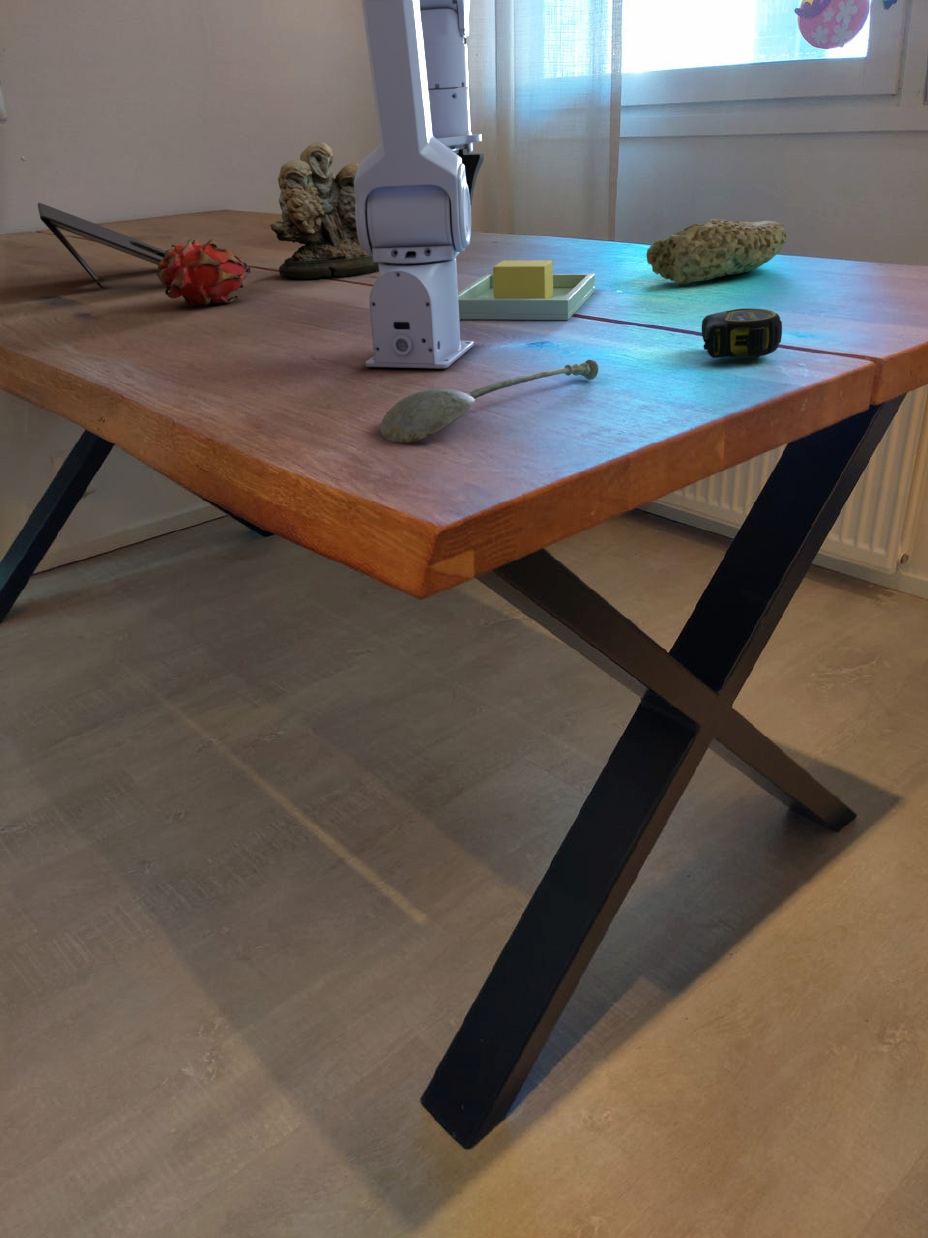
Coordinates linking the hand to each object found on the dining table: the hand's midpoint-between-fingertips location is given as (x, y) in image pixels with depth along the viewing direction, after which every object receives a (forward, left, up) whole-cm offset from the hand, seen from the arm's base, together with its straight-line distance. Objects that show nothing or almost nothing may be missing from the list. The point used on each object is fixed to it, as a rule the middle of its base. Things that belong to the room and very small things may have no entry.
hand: (448, 228), depth 111 cm
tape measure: (-19, -32, -9) cm, 39 cm away
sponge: (+24, -28, -9) cm, 38 cm away
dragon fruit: (+4, +34, -9) cm, 35 cm away
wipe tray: (+4, -7, -9) cm, 12 cm away
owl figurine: (+28, +27, -9) cm, 40 cm away
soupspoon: (-37, -15, -9) cm, 41 cm away
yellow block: (+4, -7, -8) cm, 12 cm away
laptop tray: (+21, +56, -9) cm, 60 cm away
